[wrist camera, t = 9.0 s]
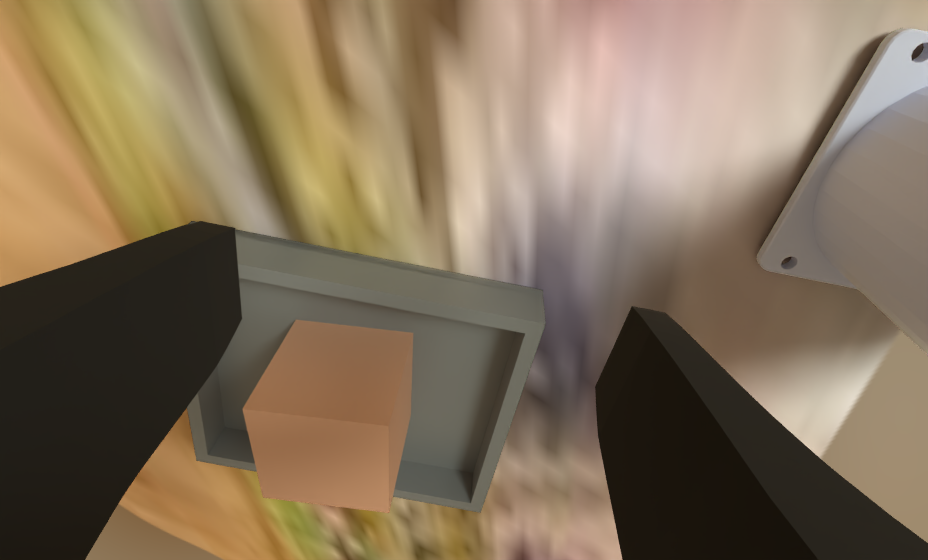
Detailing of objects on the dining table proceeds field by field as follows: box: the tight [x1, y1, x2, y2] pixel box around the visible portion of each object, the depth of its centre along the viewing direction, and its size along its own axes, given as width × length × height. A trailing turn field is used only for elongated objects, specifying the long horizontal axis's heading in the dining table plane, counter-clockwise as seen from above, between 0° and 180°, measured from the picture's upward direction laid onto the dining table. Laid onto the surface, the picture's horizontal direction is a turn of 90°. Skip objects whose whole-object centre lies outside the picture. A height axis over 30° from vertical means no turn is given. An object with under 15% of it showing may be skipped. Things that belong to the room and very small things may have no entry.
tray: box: [187, 221, 546, 513], centre depth 22 cm, size 14×12×2 cm
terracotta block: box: [243, 320, 413, 513], centre depth 20 cm, size 5×5×5 cm
